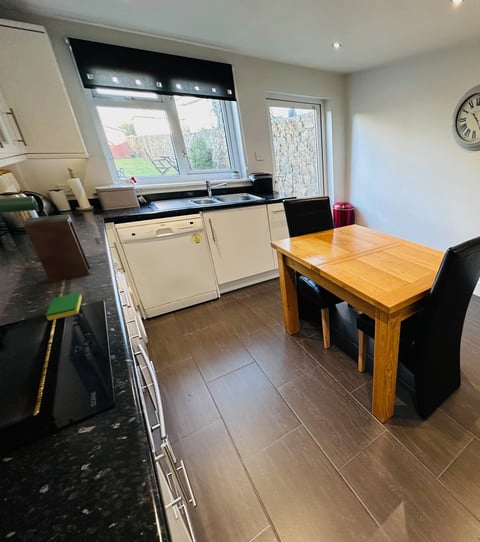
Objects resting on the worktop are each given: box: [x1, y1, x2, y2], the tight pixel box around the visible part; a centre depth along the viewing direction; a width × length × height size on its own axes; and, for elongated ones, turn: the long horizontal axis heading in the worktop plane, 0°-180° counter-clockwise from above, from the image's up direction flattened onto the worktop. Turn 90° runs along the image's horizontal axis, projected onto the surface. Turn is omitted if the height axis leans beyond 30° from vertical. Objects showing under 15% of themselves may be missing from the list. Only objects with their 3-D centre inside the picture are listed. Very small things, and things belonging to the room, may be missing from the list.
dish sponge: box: [45, 292, 83, 321], centre depth 96 cm, size 7×14×2 cm, turn 38°
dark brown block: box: [23, 214, 92, 283], centre depth 116 cm, size 12×10×25 cm
